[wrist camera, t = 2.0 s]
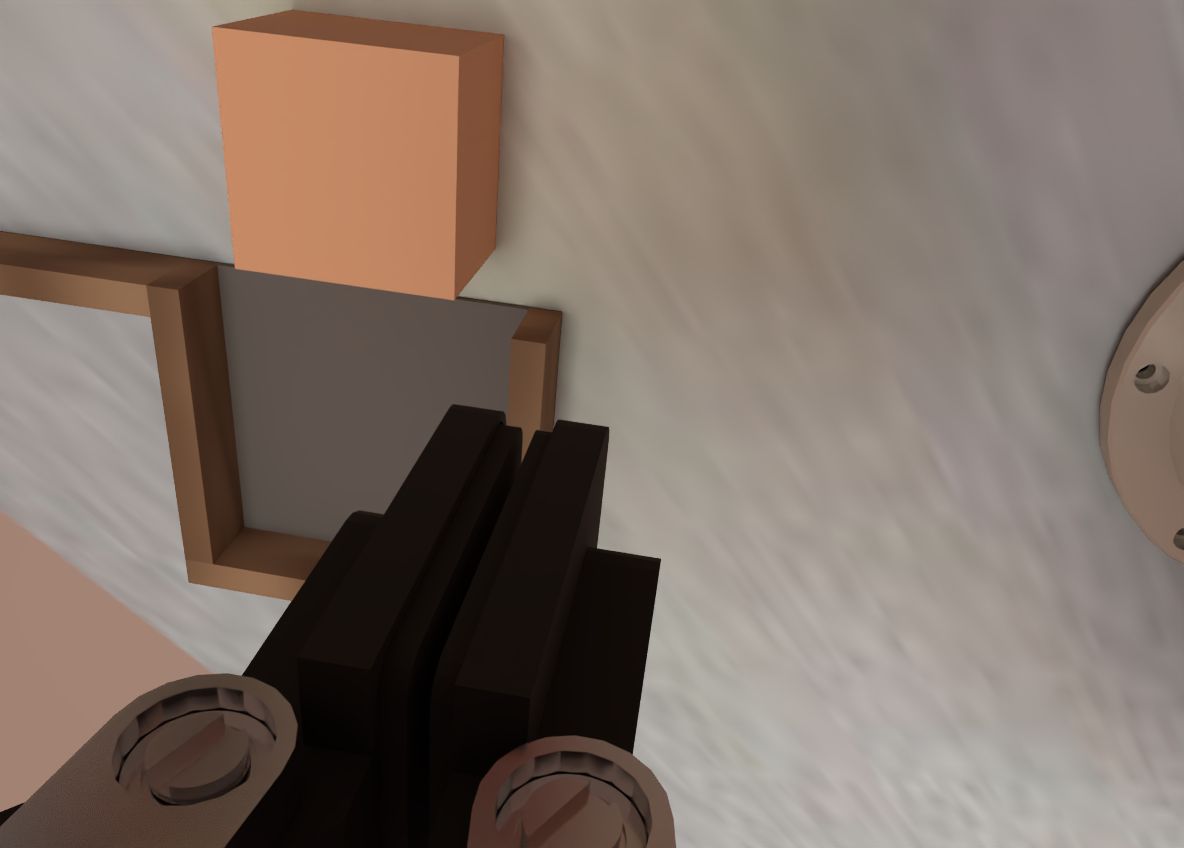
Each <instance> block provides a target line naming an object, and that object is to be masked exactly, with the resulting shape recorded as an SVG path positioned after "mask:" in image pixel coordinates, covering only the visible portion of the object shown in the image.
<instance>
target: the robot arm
mask: <svg viewBox="0 0 1184 848" xmlns="http://www.w3.org/2000/svg"><path fill="white" fill-rule="evenodd" d="M1147 365H1149V367H1148V368H1147V369H1146V370H1145V371H1143V372H1138V371H1139V370H1140V369H1142V368H1143V367H1145V366H1147ZM608 442H609V427H605V426H598V425H592V424H585V423H578V422H571V421H565V420H557V422H556V424H555V427H554V429H553V432H548V431H541V430H536V431H535V433H534V435H533V437H532V440H531V442H530V444H529V447H528V449H527V452H526V454H525V456H524V459H523V461H522V444H523V432H522V428H521V427H515V426H508V425H506V415H505V413H504V411H498V410H491V409H484V408H478V407H471V406H464V405H458V404H452V405H451V406H450V408H449V409H448V411H447V412H446V414H445V416H444V417H443V419H442V420H441V422H440V424H439V425H438V427H437V429H436V430H435V432H434V434H433V435H432V437H431V438H430V440H429V442H428V443H427V445H426V447H425V448H424V450H423V451H422V453H421V455H420V456H419V458H418V460H417V461H416V463H415V465H414V466H413V468H412V469H411V471H410V473H409V474H408V476H407V478H406V479H405V481H404V482H403V484H402V486H401V487H400V489H399V491H398V492H397V494H396V496H395V497H394V499H393V500H392V502H391V504H390V505H389V507H388V509H387V510H386V512H385V513H384V514H379V513H373V512H367V511H361V510H359V511H356V512H353V513H352V514H351V515H350V516H349V517H348V518H347V520H346V521H345V522H344V524H343V525H342V527H341V528H340V530H339V531H338V533H337V534H336V536H335V537H334V539H333V540H332V542H331V543H330V545H329V546H328V548H327V549H326V551H325V552H324V554H323V555H322V557H321V558H320V560H319V561H318V563H317V564H316V566H315V567H314V569H313V570H312V572H311V573H310V575H309V576H308V577H307V579H306V580H305V582H304V583H303V585H302V586H301V588H300V589H299V591H298V592H297V594H296V595H295V597H294V598H293V600H292V601H291V603H290V604H289V606H288V607H287V609H286V610H285V612H284V613H283V615H282V616H281V618H280V619H279V621H278V622H277V624H276V625H275V627H274V628H273V630H272V631H271V633H270V634H269V636H268V637H267V639H266V640H265V642H264V643H263V645H262V646H261V648H260V649H259V651H258V652H257V654H256V655H255V657H254V658H253V660H252V661H251V663H250V664H249V666H248V667H247V669H246V670H245V672H244V673H243V675H242V676H239V675H233V674H227V673H226V674H208V675H196V676H192V677H188V678H184V679H180V680H177V681H173V682H169V683H166V684H164V685H162V686H160V687H158V688H156V689H153V690H151V691H149V692H147V693H145V694H143V695H141V696H139V697H138V698H136V699H135V700H134V701H132V702H131V703H130V704H128V705H127V706H126V707H125V708H123V709H122V710H121V711H119V712H118V713H117V714H115V715H114V716H113V717H112V718H111V719H110V720H109V721H108V722H107V723H106V724H105V725H104V726H103V727H102V728H101V729H100V730H99V731H98V732H97V733H96V734H95V735H94V736H93V737H92V738H91V739H90V740H88V742H87V743H86V744H84V745H83V746H82V747H81V749H79V750H78V751H77V752H76V753H75V754H74V755H73V756H72V757H71V758H70V759H69V760H68V761H67V762H66V763H65V764H64V765H63V766H62V767H61V768H60V769H59V770H58V771H57V772H56V773H55V774H54V775H53V776H52V777H51V778H50V779H49V780H48V781H46V783H45V784H44V785H43V786H42V787H41V788H39V789H38V790H37V791H36V792H35V793H34V794H33V795H32V796H31V797H30V798H29V799H28V800H27V801H26V802H25V803H22V804H20V805H17V806H15V807H12V808H10V809H7V810H4V811H2V812H0V848H676V842H675V831H674V819H673V815H672V811H671V808H670V804H669V800H668V797H667V793H666V792H665V790H664V789H663V787H662V786H661V784H660V783H659V781H658V780H657V778H656V777H655V775H654V774H653V772H652V771H651V770H650V769H649V768H648V767H647V766H645V765H644V764H643V763H642V762H640V761H639V760H638V759H637V758H636V757H634V756H633V748H634V741H635V734H636V727H637V721H638V714H639V707H640V700H641V693H642V686H643V679H644V672H645V666H646V659H647V652H648V645H649V638H650V631H651V624H652V617H653V611H654V604H655V597H656V590H657V583H658V576H659V569H660V562H661V559H659V558H653V557H647V556H641V555H634V554H628V553H622V552H616V551H609V550H603V549H597V542H598V533H599V524H600V515H601V506H602V497H603V488H604V479H605V470H606V461H607V452H608ZM1100 445H1101V449H1102V453H1103V456H1104V460H1105V464H1106V467H1107V471H1108V475H1109V478H1110V480H1111V482H1112V483H1113V485H1114V487H1115V489H1116V491H1117V493H1118V495H1119V496H1120V498H1121V500H1122V502H1123V504H1124V506H1125V508H1126V509H1127V510H1128V512H1129V513H1130V514H1131V516H1132V517H1133V518H1134V520H1135V521H1136V523H1137V524H1138V525H1139V527H1140V528H1141V529H1142V531H1143V532H1144V533H1145V535H1146V536H1147V537H1148V538H1149V539H1151V540H1152V541H1153V542H1154V543H1155V544H1156V545H1157V546H1158V547H1159V548H1161V549H1162V550H1163V551H1164V552H1165V553H1166V554H1168V555H1169V556H1170V557H1172V558H1173V559H1175V560H1177V561H1179V562H1180V563H1182V564H1184V260H1183V261H1182V262H1181V263H1180V264H1179V265H1178V266H1177V267H1176V268H1175V269H1174V270H1173V271H1172V272H1171V274H1170V275H1169V276H1168V277H1167V278H1166V279H1165V280H1164V281H1163V282H1162V283H1161V284H1160V285H1159V286H1158V287H1157V288H1156V289H1155V290H1154V291H1153V292H1152V293H1151V294H1150V296H1149V297H1148V299H1147V300H1146V302H1145V303H1144V305H1143V306H1142V308H1141V309H1140V311H1139V312H1138V313H1137V315H1136V316H1135V318H1134V319H1133V321H1132V322H1131V324H1130V325H1129V327H1128V328H1127V330H1126V331H1125V333H1124V335H1123V337H1122V339H1121V342H1120V344H1119V346H1118V349H1117V351H1116V353H1115V355H1114V358H1113V360H1112V362H1111V364H1110V367H1109V369H1108V372H1107V376H1106V381H1105V386H1104V391H1103V395H1102V400H1101V405H1100ZM521 461H522V463H521Z"/></svg>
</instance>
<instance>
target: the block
mask: <svg viewBox="0 0 1184 848" xmlns="http://www.w3.org/2000/svg"><path fill="white" fill-rule="evenodd" d="M212 34H213V44H214V55H215V65H216V76H217V86H218V96H219V107H220V117H221V128H222V138H223V148H224V159H225V169H226V180H227V190H228V200H229V211H230V221H231V232H232V242H233V252H234V263H235V269H240V270H247V271H254V272H261V273H268V274H275V275H282V276H289V277H296V278H303V279H310V280H317V281H323V282H330V283H337V284H344V285H351V286H358V287H365V288H372V289H379V290H386V291H393V292H400V293H407V294H414V295H420V296H427V297H434V298H441V299H448V300H455V299H456V297H457V296H458V295H459V294H460V292H461V291H462V290H463V289H464V287H465V286H466V285H467V284H468V282H469V281H470V280H471V279H472V277H473V276H474V275H475V274H476V272H477V271H478V270H479V269H480V267H481V266H482V265H483V264H484V262H485V261H486V260H487V259H488V257H489V256H490V255H491V254H492V252H493V251H494V250H495V244H496V219H497V195H498V171H499V146H500V122H501V98H502V74H503V49H504V35H503V34H494V33H486V32H477V31H469V30H460V29H451V28H443V27H434V26H425V25H417V24H408V23H400V22H391V21H382V20H374V19H365V18H356V17H348V16H339V15H331V14H322V13H313V12H305V11H296V10H289V11H284V12H279V13H274V14H270V15H265V16H260V17H256V18H251V19H246V20H242V21H237V22H232V23H227V24H223V25H218V26H213V27H212Z"/></svg>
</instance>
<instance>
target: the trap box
mask: <svg viewBox="0 0 1184 848" xmlns="http://www.w3.org/2000/svg"><path fill="white" fill-rule="evenodd" d="M0 294H1V295H8V296H14V297H21V298H28V299H34V300H41V301H48V302H54V303H61V304H68V305H74V306H81V307H88V308H94V309H101V310H108V311H114V312H121V313H128V314H134V315H141V316H148V317H151V323H152V330H153V337H154V344H155V351H156V358H157V365H158V372H159V379H160V386H161V393H162V400H163V407H164V414H165V420H166V427H167V434H168V441H169V448H170V455H171V462H172V469H173V476H174V483H175V490H176V497H177V504H178V511H179V518H180V525H181V532H182V539H183V546H184V553H185V560H186V567H187V574H188V581H189V583H194V584H200V585H206V586H211V587H217V588H222V589H228V590H234V591H239V592H245V593H251V594H256V595H262V596H267V597H273V598H279V599H284V600H290V601H292V600H293V598H294V597H295V595H296V594H297V592H298V591H299V589H300V588H301V586H302V585H303V583H304V582H305V580H306V579H307V577H308V576H309V575H310V573H311V572H312V570H313V569H314V567H315V566H316V564H317V563H318V561H319V560H320V558H321V557H322V555H323V554H324V552H325V551H326V549H327V548H328V546H329V545H330V543H331V542H332V540H333V539H334V537H335V536H336V534H337V533H338V531H339V530H340V528H341V527H342V525H343V524H344V522H345V521H346V520H347V518H348V517H349V516H350V515H351V514H352V513H353V512H356V511H359V510H361V511H367V512H373V513H379V514H384V513H385V512H386V510H387V509H388V507H389V505H390V504H391V502H392V500H393V499H394V497H395V496H396V494H397V492H398V491H399V489H400V487H401V486H402V484H403V482H404V481H405V479H406V478H407V476H408V474H409V473H410V471H411V469H412V468H413V466H414V465H415V463H416V461H417V460H418V458H419V456H420V455H421V453H422V451H423V450H424V448H425V447H426V445H427V443H428V442H429V440H430V438H431V437H432V435H433V434H434V432H435V430H436V429H437V427H438V425H439V424H440V422H441V420H442V419H443V417H444V416H445V414H446V412H447V411H448V409H449V408H450V406H451V405H452V404H458V405H464V406H471V407H478V408H484V409H491V410H498V411H504V413H505V415H506V425H508V426H515V427H521V428H522V432H523V444H522V461H523V459H524V456H525V454H526V452H527V449H528V447H529V444H530V442H531V440H532V437H533V435H534V433H535V431H536V430H541V431H548V432H553V424H554V411H555V399H556V386H557V373H558V360H559V347H560V334H561V321H562V312H560V311H553V310H546V309H539V308H532V307H525V306H518V305H511V304H504V303H497V302H490V301H483V300H476V299H469V298H462V297H456V299H455V300H448V299H441V298H434V297H427V296H420V295H414V294H407V293H400V292H393V291H386V290H379V289H372V288H365V287H358V286H351V285H344V284H337V283H330V282H323V281H317V280H310V279H303V278H296V277H289V276H282V275H275V274H268V273H261V272H254V271H247V270H240V269H235V265H231V264H224V263H217V262H210V261H203V260H196V259H189V258H182V257H175V256H168V255H161V254H154V253H147V252H140V251H133V250H126V249H119V248H112V247H105V246H98V245H91V244H84V243H77V242H70V241H63V240H56V239H49V238H42V237H35V236H28V235H22V234H15V233H8V232H1V231H0ZM522 461H521V463H522Z"/></svg>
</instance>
